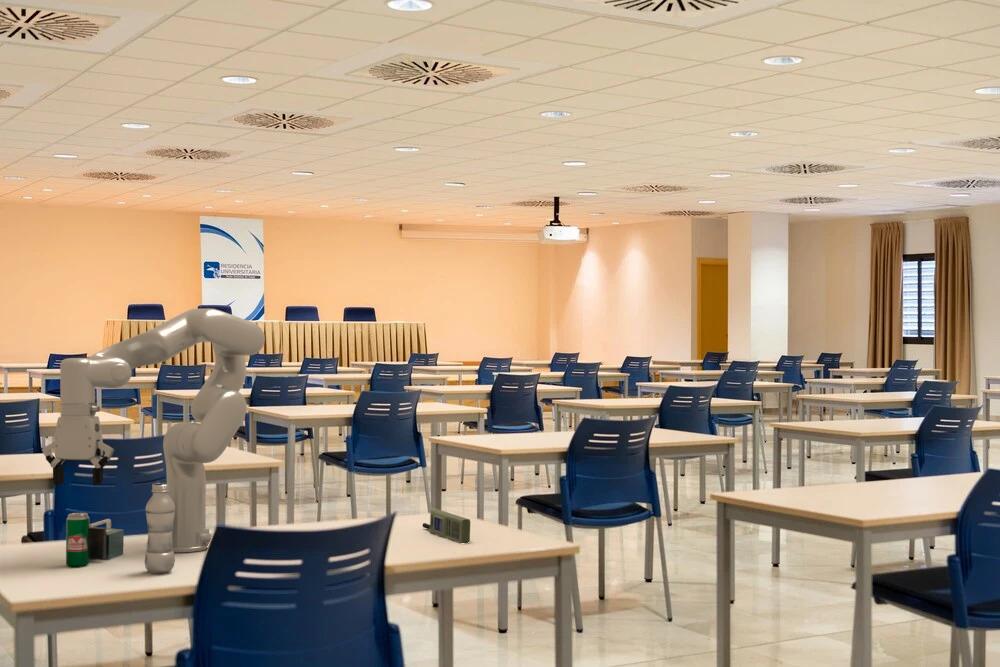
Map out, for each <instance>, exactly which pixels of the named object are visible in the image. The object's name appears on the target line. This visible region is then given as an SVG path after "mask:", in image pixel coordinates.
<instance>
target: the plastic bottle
mask: <svg viewBox="0 0 1000 667" xmlns="http://www.w3.org/2000/svg"><path fill="white" fill-rule="evenodd" d="M168 492H169V484H168V483H167V482H156V483H152V485H151V493H152V495H151V497H150V498H149V500H148V501H147V503H146V506H145V515H146V522H147V546H146V552H145V555H144V556H145V557H144V566H145V567H144V568H145V569H146V571H147V572H149V573H155V574H163V573H167V572H170V571H172V570H173V569H174V567H175V563H176V562H175V561H176V558H175V552H174V551H173V542H172V530H173V520H174V513H175V504H174V502H173V500H172V499H171V498H170V496H169V495H168Z"/></svg>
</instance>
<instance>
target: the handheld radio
mask: <svg viewBox="0 0 1000 667" xmlns="http://www.w3.org/2000/svg"><path fill="white" fill-rule="evenodd" d="M429 517H430V519H429V520H430V521H429V523H426V522H424V523H422V528H424V529H427V530H429V533H430V532H431V533H430V534H433V533H434V534H433V535H435V534H437V535H436V536H438V535H439V537H441V536H442V538H444V537H445V539H447V538H448V539H447V540H449V539H450V541H452V540H453V542H455V541H456V543H458V542H459V544H460V543H468V542H469V543H470V540H471V520H470V518H466V517H464V516H460V515H457V514H454V513H450V512H447V511H444V510H441V509H439V508H438V509H437V508H434V507H432V508H431V507H430V516H429ZM469 543H468V544H469Z"/></svg>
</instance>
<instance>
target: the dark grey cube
mask: <svg viewBox="0 0 1000 667" xmlns="http://www.w3.org/2000/svg"><path fill="white" fill-rule="evenodd" d="M124 533H125V532H124V529H122V528H121V529H116V528H106V558H105V559H102V560H106V561H108V560H109V561H110V560H112V559H115V558H117V557H120V556H122V555H124V541H125V540H124V539H125V537H124Z"/></svg>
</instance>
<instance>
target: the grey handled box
mask: <svg viewBox="0 0 1000 667" xmlns="http://www.w3.org/2000/svg"><path fill="white" fill-rule="evenodd" d="M104 524H106V527H100V526H101V525H104ZM97 526H99V527H97ZM106 529H112V520H111V519H110V518H106V519H103V520H100V521H96V522H93V523H90V532H89V560H103V559H105V558H106Z"/></svg>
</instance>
